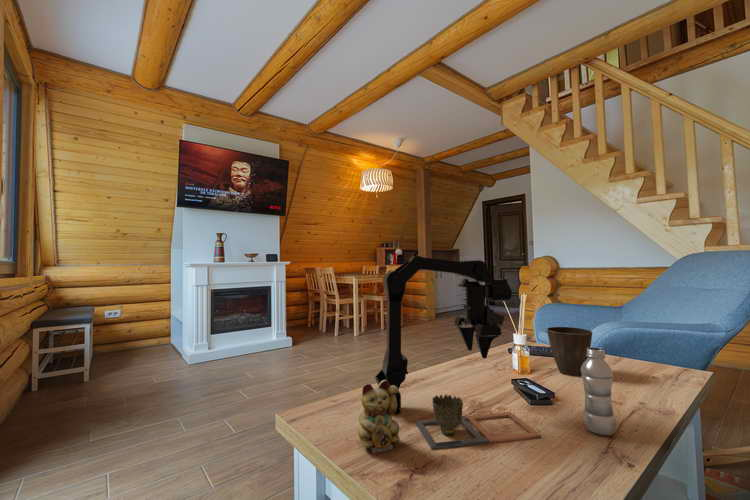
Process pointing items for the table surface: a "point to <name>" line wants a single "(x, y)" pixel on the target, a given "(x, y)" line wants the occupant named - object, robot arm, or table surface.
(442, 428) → the dark ridged bell shape
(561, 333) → the plant pot
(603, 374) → the plastic bottle
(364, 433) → the decorative figurine
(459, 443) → the rectangular frame
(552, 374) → the table surface
